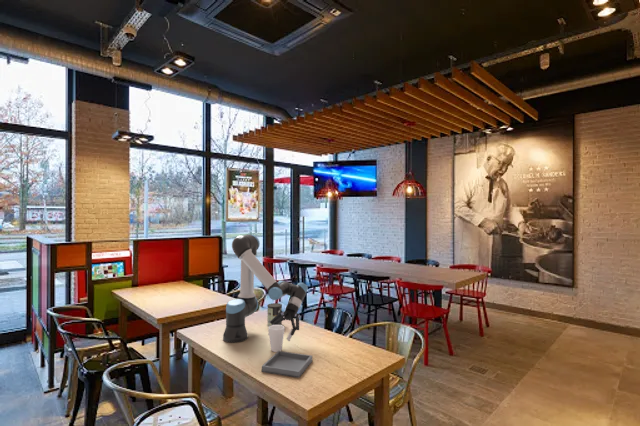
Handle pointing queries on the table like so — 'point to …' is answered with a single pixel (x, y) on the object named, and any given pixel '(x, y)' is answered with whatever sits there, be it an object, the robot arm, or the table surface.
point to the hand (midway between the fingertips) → (278, 337)
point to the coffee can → (273, 312)
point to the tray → (287, 364)
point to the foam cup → (276, 337)
